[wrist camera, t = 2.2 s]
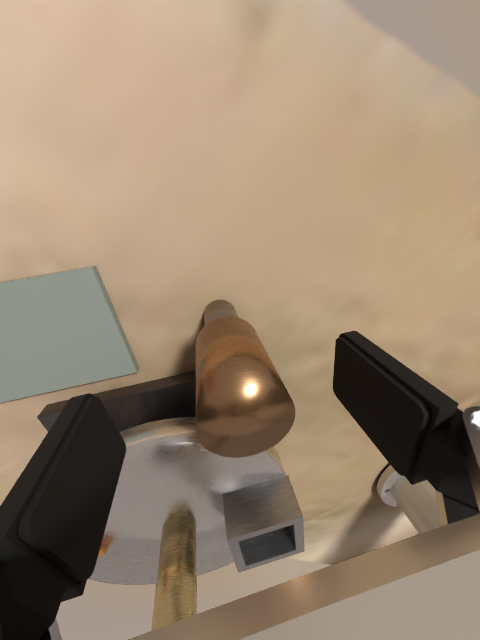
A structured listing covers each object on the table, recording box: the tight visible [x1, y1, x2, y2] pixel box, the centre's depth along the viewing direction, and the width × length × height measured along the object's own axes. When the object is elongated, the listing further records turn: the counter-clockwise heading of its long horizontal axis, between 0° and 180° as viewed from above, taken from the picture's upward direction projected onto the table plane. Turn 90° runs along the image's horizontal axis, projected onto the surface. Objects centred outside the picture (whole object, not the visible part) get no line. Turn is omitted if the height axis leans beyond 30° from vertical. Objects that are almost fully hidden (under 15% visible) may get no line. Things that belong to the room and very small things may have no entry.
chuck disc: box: [89, 417, 304, 631], centre depth 15 cm, size 17×17×7 cm
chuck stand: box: [37, 371, 196, 432], centre depth 20 cm, size 17×17×4 cm
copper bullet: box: [196, 300, 295, 458], centre depth 12 cm, size 4×4×10 cm
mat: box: [0, 266, 139, 403], centre depth 15 cm, size 10×8×1 cm
